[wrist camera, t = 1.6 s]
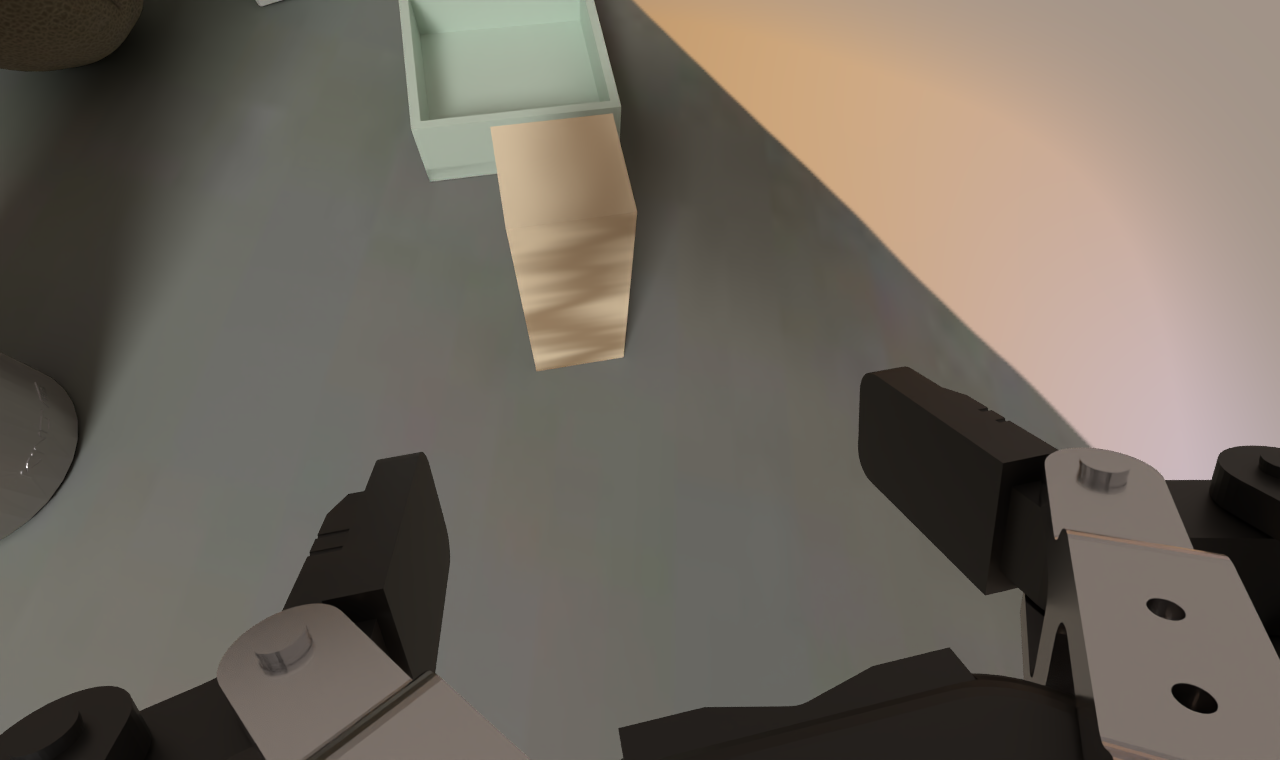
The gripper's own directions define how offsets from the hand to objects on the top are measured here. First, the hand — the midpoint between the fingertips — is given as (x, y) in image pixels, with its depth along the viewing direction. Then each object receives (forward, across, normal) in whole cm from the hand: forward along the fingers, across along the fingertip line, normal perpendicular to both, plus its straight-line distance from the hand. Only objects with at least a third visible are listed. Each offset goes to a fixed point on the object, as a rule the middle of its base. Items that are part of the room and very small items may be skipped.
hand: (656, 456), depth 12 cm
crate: (+34, +1, -7) cm, 34 cm away
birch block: (+22, 0, +4) cm, 23 cm away
